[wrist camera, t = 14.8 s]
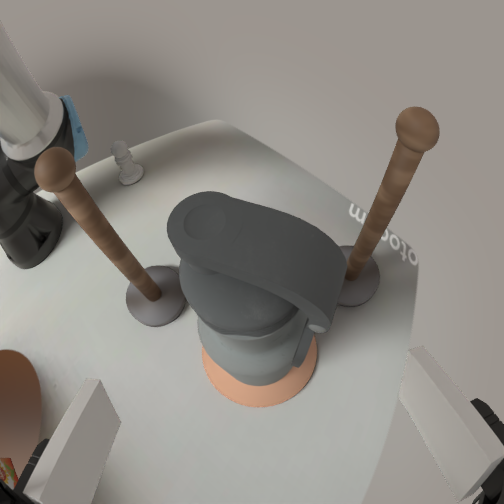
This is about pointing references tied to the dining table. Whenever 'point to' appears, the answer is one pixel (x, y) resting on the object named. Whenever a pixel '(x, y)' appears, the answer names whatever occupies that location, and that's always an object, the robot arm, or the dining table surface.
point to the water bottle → (255, 283)
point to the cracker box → (8, 472)
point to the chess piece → (126, 163)
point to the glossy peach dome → (261, 394)
